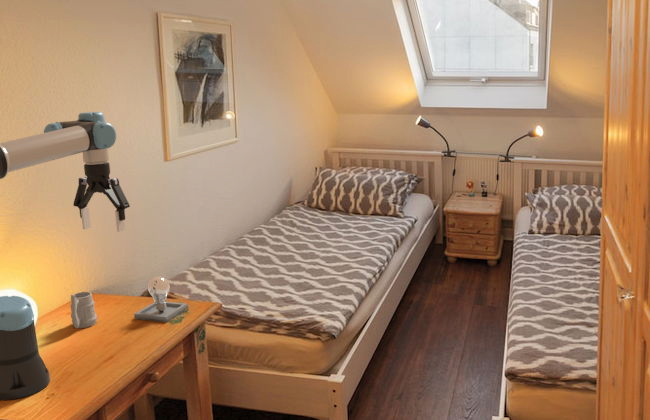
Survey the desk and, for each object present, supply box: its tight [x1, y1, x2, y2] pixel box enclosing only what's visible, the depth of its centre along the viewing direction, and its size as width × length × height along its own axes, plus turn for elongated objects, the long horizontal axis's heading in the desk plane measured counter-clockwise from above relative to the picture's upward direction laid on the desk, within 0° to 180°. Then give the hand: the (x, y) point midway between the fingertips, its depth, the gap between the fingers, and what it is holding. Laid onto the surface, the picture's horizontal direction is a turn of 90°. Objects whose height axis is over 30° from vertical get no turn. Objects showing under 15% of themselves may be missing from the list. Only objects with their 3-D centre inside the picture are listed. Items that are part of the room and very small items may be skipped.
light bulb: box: [147, 275, 171, 312], centre depth 228 cm, size 7×7×12 cm
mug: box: [70, 291, 98, 329], centre depth 221 cm, size 8×12×12 cm, turn 177°
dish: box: [133, 301, 189, 323], centre depth 229 cm, size 12×12×2 cm
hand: (103, 229), depth 219 cm, fingers open, 13 cm apart
